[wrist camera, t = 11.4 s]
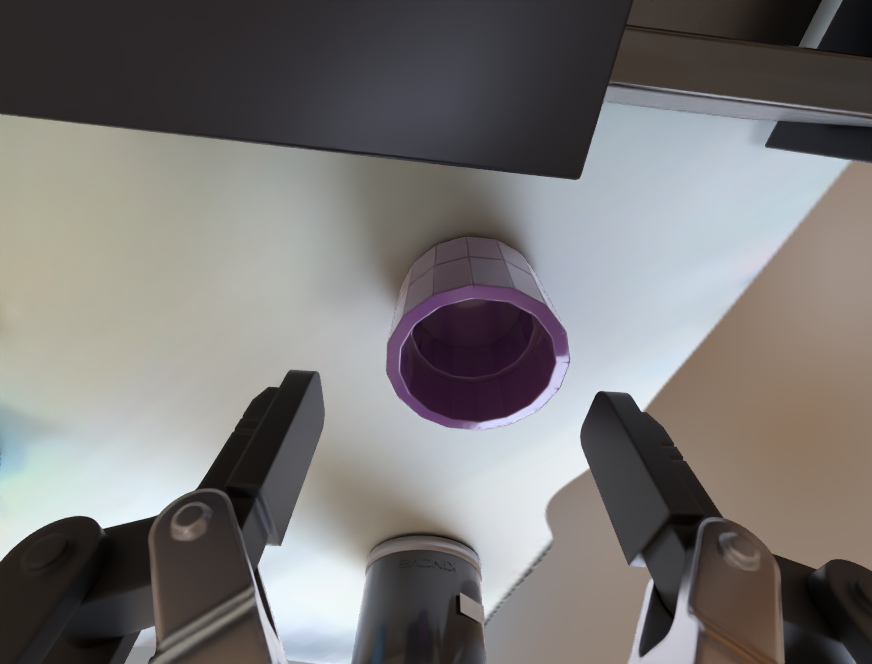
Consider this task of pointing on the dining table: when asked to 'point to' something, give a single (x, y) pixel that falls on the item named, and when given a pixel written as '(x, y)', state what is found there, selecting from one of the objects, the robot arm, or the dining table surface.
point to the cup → (475, 337)
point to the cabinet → (326, 74)
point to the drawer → (754, 68)
